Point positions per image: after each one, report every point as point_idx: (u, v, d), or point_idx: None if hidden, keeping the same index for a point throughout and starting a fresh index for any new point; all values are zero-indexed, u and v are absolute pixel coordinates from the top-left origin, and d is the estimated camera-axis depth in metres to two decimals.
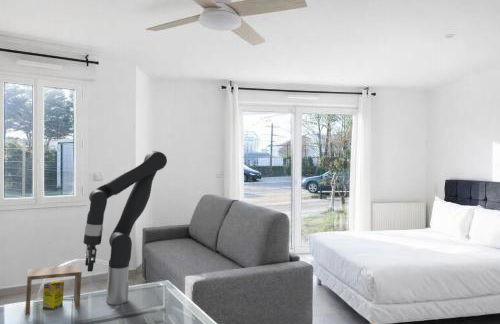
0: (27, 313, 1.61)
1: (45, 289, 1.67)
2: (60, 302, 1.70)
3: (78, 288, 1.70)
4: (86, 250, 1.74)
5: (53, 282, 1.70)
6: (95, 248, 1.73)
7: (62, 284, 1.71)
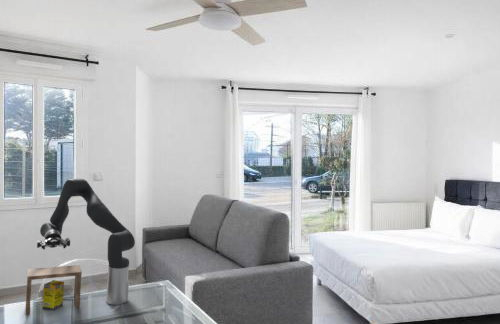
0: (27, 313, 1.61)
1: (45, 289, 1.67)
2: (60, 302, 1.70)
3: (78, 288, 1.70)
4: (56, 245, 1.86)
5: (53, 282, 1.70)
6: None
7: (62, 284, 1.71)
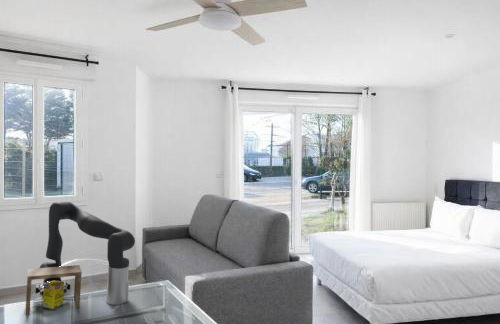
0: (27, 313, 1.61)
1: (45, 289, 1.67)
2: (60, 303, 1.70)
3: (78, 288, 1.70)
4: None
5: (53, 282, 1.69)
6: None
7: (62, 284, 1.70)
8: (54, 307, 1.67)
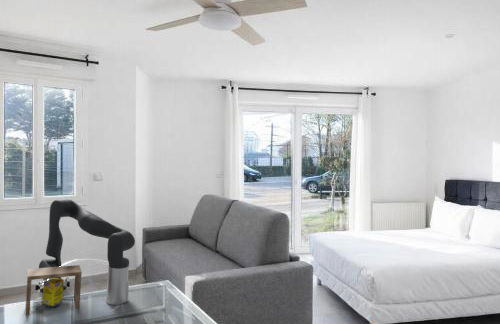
0: (27, 313, 1.61)
1: (45, 286, 1.67)
2: (59, 300, 1.71)
3: (78, 288, 1.70)
4: None
5: (53, 280, 1.70)
6: None
7: (62, 282, 1.71)
8: (54, 304, 1.67)
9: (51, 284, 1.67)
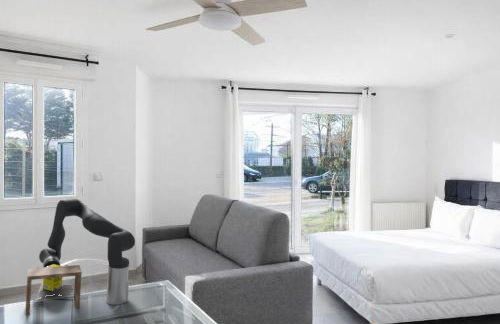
0: (27, 313, 1.61)
1: None
2: (59, 285, 1.80)
3: (78, 288, 1.70)
4: None
5: (52, 266, 1.79)
6: None
7: None
8: (53, 289, 1.76)
9: None
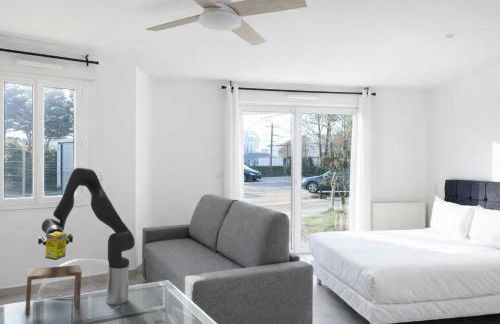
0: (27, 313, 1.61)
1: (48, 239, 1.67)
2: (62, 253, 1.71)
3: (78, 288, 1.70)
4: None
5: (55, 233, 1.70)
6: None
7: (64, 235, 1.71)
8: (57, 257, 1.67)
9: (54, 236, 1.67)
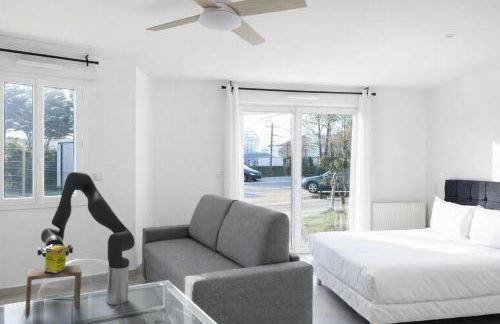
0: (27, 313, 1.61)
1: (47, 253, 1.65)
2: (62, 267, 1.68)
3: (78, 288, 1.70)
4: None
5: (55, 247, 1.68)
6: (51, 245, 1.75)
7: (64, 249, 1.68)
8: (57, 271, 1.65)
9: (54, 250, 1.64)
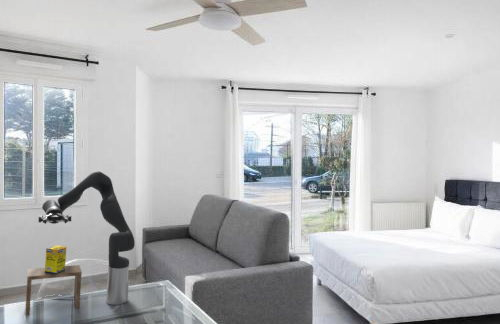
0: (27, 313, 1.61)
1: (47, 253, 1.65)
2: (62, 267, 1.68)
3: (78, 288, 1.70)
4: (57, 221, 1.87)
5: (55, 247, 1.68)
6: (51, 214, 1.87)
7: (64, 249, 1.69)
8: (57, 271, 1.65)
9: (54, 250, 1.64)
